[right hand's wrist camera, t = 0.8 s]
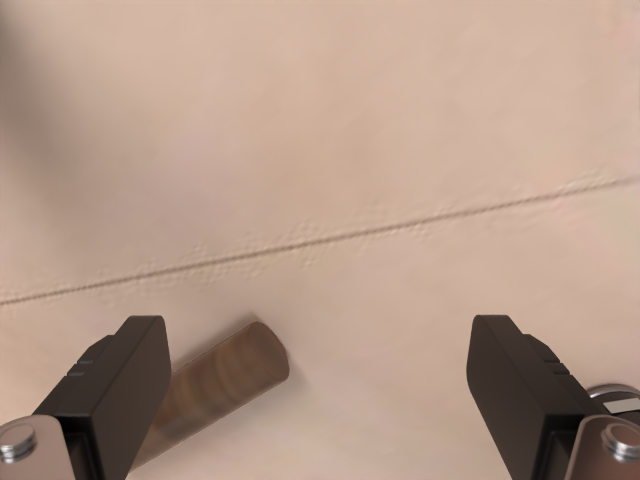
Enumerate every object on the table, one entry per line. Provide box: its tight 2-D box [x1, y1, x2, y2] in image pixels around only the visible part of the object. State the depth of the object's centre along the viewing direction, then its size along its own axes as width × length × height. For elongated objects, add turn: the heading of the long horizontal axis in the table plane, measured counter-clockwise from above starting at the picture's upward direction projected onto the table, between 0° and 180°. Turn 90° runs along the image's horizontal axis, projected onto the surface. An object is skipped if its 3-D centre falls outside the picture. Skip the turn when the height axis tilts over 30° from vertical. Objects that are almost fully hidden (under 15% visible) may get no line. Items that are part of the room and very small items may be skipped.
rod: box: [129, 322, 289, 473], centre depth 40 cm, size 23×6×6 cm, turn 125°
